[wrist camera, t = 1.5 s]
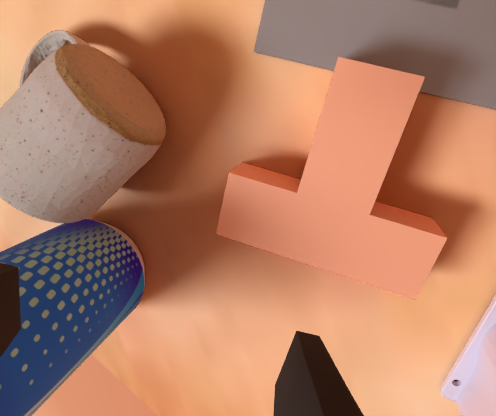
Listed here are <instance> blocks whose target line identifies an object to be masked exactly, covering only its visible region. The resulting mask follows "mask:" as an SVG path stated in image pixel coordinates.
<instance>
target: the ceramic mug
mask: <svg viewBox="0 0 496 416" xmlns="http://www.w3.org/2000/svg"><path fill="white" fill-rule="evenodd" d="M165 136H166V123H165V119H164V116H163V113H162V110H161V109H160V107H159V105H158V104H157V102H156V100H155V99H154V97H153V96H152V95H151V94H150V92H149V91H148V90H147V89H146V87H145V86H144V85H143V84H142V83H141V82H140V81H139V80H138V79H137V78H136V77H135V76H134V75H133V74H132V73H131V72H130V71H129V70H128V69H126V68H125V67H124V66H123V65H121V64H120V63H119V62H117V61H116V60H115V59H114V58H112V57H110V56H109V55H107V54H105V53H103V52H102V51H100V50H98V49H96V48H94V47H91V46H90V45H89V44H88V43H87V42H85V41H83V40H82V39H80V38H78V37H77V36H75V35H73V34H71V33H69V32H67V31H64V30H55V31H51V32H50V33H48V34H46V35H45V36H44V37H43V38H42V39H40V40H39V41H38V43H37V44H36V45H35V46H34V47H33V49H32V50H31V52H30V54H29V56H28V58H27V59H26V62H25V64H24V67H23V70H22V74H21V80H20V88H19V89H18V90H17V91H16V92H15V93H14V95H13V96H12V97H11V98H10V99H9V100H8V101H7V102H6V103H5V104H4V105H3V106H2V107H1V108H0V197H1V198H2V199H3V200H5V201H6V202H7V203H9V204H10V205H12V206H13V207H15V208H16V209H18V210H20V211H22V212H24V213H26V214H28V215H30V216H33V217H36V218H38V219H42V220H45V221H49V222H55V223H73V222H78V221H81V220H83V219H85V218H88V217H90V216H91V215H92V214H94V213H95V212H96V211H97V210H98V209H99V208H100V207H101V206H102V205H103V204H104V203H105V202H106V201H107V200H108V199H109V198H110V197H111V196H112V195H113V194H114V193H116V192H117V191H118V190H119V189H120V188H121V187H122V186H123V185H124V184H125V183H126V182H127V181H128V180H129V179H130V178H131V177H132V176H133V175H134V174H135V173H136V172H137V171H138V170H139V169H140V168H141V167H142V166H144V165H145V164H146V163H147V162H148V161H149V160H150V159H151V158H152V157H153V156H154V154H155V153H156V151H157V150H158V148H159V147H160V145H161V144H162V142H163V141H164V139H165Z"/></svg>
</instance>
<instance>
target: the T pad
mask: <svg viewBox="0 0 496 416" xmlns="http://www.w3.org/2000/svg"><path fill="white" fill-rule="evenodd" d="M254 52H256V53H260V54H264V55H269V56H273V57H277V58H281V59H285V60H290V61H294V62H298V63H302V64H306V65H310V66H315V67H319V68H323V69H327V70H331V71H334V69H335V66H336V62H337V59H338V57H342V58H346V59H351V60H355V61H359V62H363V63H368V64H372V65H376V66H381V67H385V68H389V69H394V70H398V71H402V72H406V73H411V74H415V75H419V76H424V77H425V78H424V81H423V83H422V86H421V88H420V91H419V92H423V93H427V94H432V95H436V96H440V97H444V98H448V99H452V100H457V101H461V102H465V103H469V104H473V105H478V106H482V107H486V108H490V109H494V110H496V0H265V4H264V8H263V13H262V17H261V22H260V26H259V31H258V36H257V40H256V45H255V49H254Z"/></svg>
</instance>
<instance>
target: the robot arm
mask: <svg viewBox="0 0 496 416" xmlns="http://www.w3.org/2000/svg"><path fill="white" fill-rule="evenodd" d="M20 329H21V316H20V292H19V269H18V267H17V266H12V265H8V264H3V263H0V357H1V356H2V355H3V353H4V352H5V351H6V349H7V348H8V346H9V345H10V343H11V342H12V341H13V339H14V338H15V336H16V335H17V333H18V332H19V331H20ZM453 380H458V381H453ZM440 391H441V394H442V396H443V397H445V398H447V399H449V400H452V401H455V402H456V403H457V406H458V408H459V411H460V413H461V416H496V295H495V297H494V298H493V300H492V302H491V303H490V305H489V307H488V308H487V310H486V312H485V313H484V315H483V317H482V318H481V320H480V322H479V323H478V325H477V327H476V328H475V330H474V332H473V334H472V335H471V337H470V339H469V340H468V342H467V344H466V345H465V347H464V349H463V350H462V352H461V354H460V355H459V357H458V359H457V360H456V362H455V364H454V365H453V367H452V369H451V370H450V372H449V374H448V375H447V377H446V379H445V380H444V382H443V384H442V385H441V387H440ZM274 416H364V415H363V414H362V412H361V410H360V408H359V407H358V405H357V403H356V402H355V400H354V398H353V396H352V395H351V393H350V391H349V389H348V388H347V386H346V384H345V382H344V380H343V379H342V377H341V375H340V373H339V371H338V369H337V368H336V366H335V364H334V362H333V360H332V358H331V356H330V355H329V353H328V351H327V349H326V347H325V345H324V344H323V342H322V340H321V338H320V337H319V336H317V335H313V334H308V333H304V332H300V331H296V333H295V336H294V339H293V341H292V344H291V346H290V349H289V351H288V354H287V356H286V359H285V361H284V364H283V366H282V369H281V372H280V374H279V377H278V379H277V382H276V384H275V399H274Z"/></svg>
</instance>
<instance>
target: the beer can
mask: <svg viewBox="0 0 496 416" xmlns="http://www.w3.org/2000/svg"><path fill="white" fill-rule="evenodd" d="M0 263H3V264H8V265H12V266H17V267H18V269H19V292H20V316H21V329H20V331H19V332H18V333H17V335H16V336H15V338H14V339H13V341H12V342H11V343H10V345H9V346H8V348H7V349H6V351H5V352H4V353H3V355H2V356H1V357H0V416H32V415H33V414H34V413H35V412H36V411H37V410H38V409H39V408H40V407H41V405H42V404H43V403H44V402H45V401H46V400H47V399H48V398H49V397H50V396H51V395H52V394H53V393H54V392H55V391H56V390H57V389H58V388H59V387H60V386H61V385H62V384H63V383H64V381H66V379H67V378H68V377H69V376H70V375H71V374H72V373H73V372H74V371H75V370H76V369H77V368H78V367H79V366H80V365H81V364H82V363H83V362H84V361H85V360H86V359H87V358H88V357H89V355H90V354H91V353H92V352H93V351H94V350H95V349H96V348H97V347H98V346H99V345H100V344H101V343H102V342H103V341H104V340H105V339H106V338H107V337H108V336H109V335H110V334H111V333H112V332H113V331H114V330H115V328H116V327H117V326H118V325H119V324H120V323H121V322H122V321H123V320H124V319H125V318H126V317H127V316H128V315H129V314H130V313H131V312H132V311H133V310H134V309H135V308H136V306H137V305H138V304H139V302H140V300H141V298H142V296H143V293H144V288H145V268H144V262H143V259H142V256H141V254H140V251H139V250H138V248H137V246H136V245H135V243H134V242H133V241H132V240H131V239H130V238H129V237H128V236H127V235H126V234H125V233H124V232H122V231H121V230H119V229H118V228H116V227H114V226H112V225H109V224H106V223H103V222H100V221H97V220H93V219H83V220H81V221H78V222H73V223H64V224H61V225H59V226H57V227H55V228H53V229H50V230H48V231H46V232H44V233H42V234H39V235H37V236H35V237H33V238H30V239H28V240H26V241H24V242H22V243H19V244H17V245H15V246H13V247H11V248H8V249H6V250H4V251H2V252H0Z"/></svg>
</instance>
